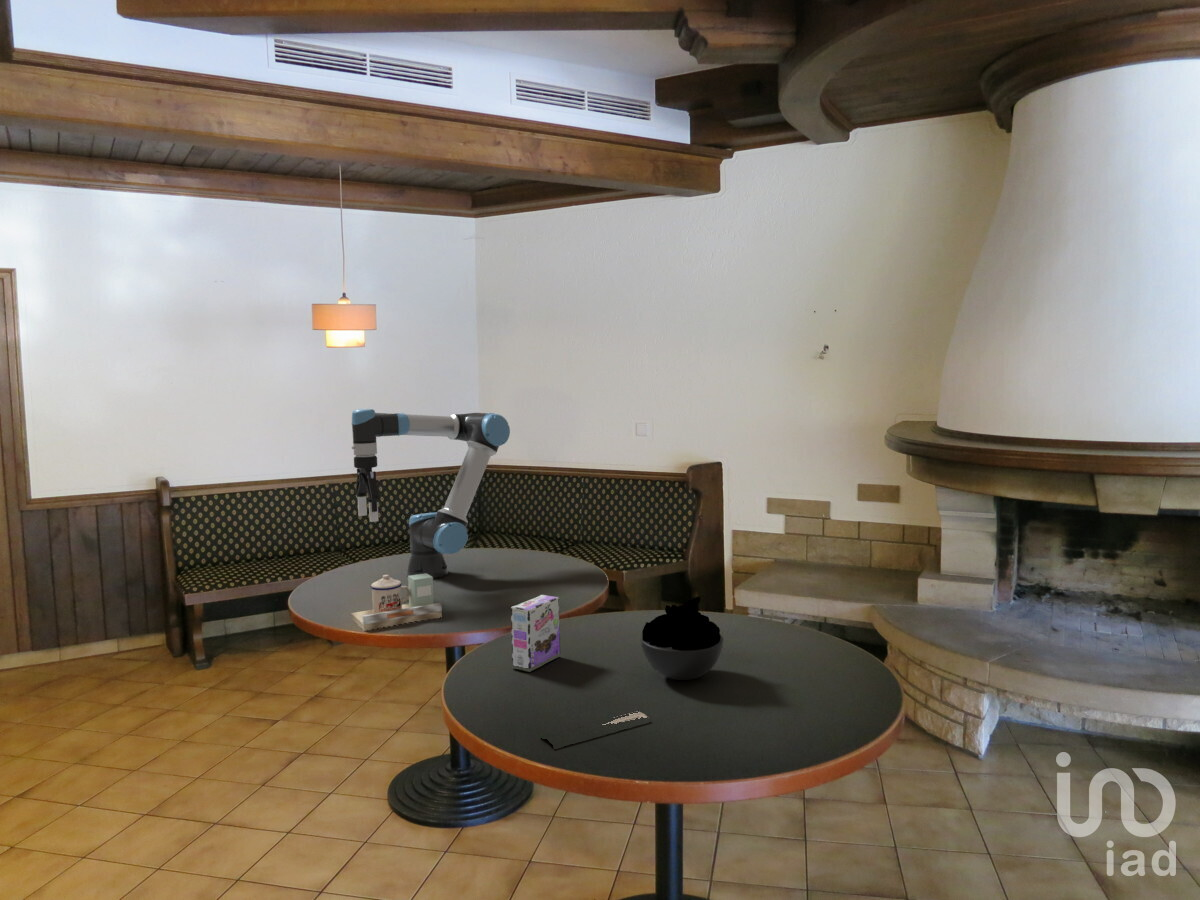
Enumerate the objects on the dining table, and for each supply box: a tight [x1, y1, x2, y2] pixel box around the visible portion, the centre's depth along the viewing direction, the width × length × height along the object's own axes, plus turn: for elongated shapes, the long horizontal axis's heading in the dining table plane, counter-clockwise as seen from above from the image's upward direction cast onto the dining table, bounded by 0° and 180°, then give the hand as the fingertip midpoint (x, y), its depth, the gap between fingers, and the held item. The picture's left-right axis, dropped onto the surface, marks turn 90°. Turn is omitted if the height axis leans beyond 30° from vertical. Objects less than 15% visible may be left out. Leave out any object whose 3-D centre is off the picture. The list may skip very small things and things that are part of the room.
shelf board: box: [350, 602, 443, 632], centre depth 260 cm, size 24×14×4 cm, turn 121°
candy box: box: [510, 594, 561, 669], centre depth 217 cm, size 14×6×16 cm, turn 148°
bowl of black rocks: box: [640, 596, 724, 681], centre depth 205 cm, size 20×20×19 cm
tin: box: [407, 573, 435, 608], centre depth 263 cm, size 6×6×10 cm
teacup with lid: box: [370, 574, 410, 614], centre depth 260 cm, size 12×9×12 cm
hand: (368, 518), depth 284 cm, fingers open, 13 cm apart
